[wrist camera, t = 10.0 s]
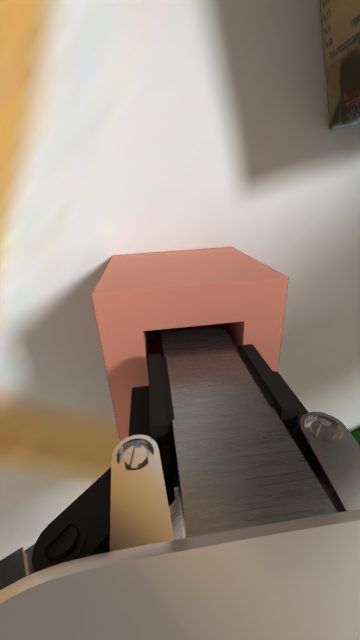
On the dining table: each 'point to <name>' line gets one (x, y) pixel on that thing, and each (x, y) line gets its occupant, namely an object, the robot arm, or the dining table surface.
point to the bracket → (182, 309)
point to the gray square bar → (231, 441)
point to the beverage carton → (342, 60)
